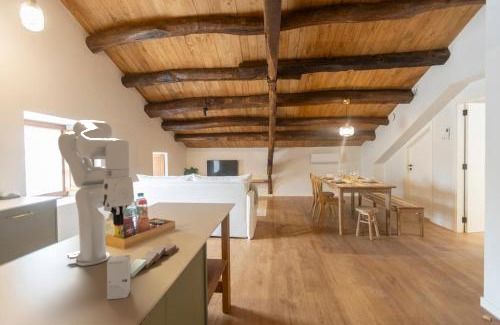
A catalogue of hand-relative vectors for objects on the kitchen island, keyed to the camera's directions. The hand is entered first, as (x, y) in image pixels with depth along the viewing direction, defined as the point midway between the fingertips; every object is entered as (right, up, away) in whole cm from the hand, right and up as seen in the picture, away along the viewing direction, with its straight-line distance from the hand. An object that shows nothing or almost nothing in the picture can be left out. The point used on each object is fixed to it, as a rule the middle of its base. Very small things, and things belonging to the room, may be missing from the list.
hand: (118, 224), depth 93 cm
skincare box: (+6, -21, -10) cm, 24 cm away
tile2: (+6, -19, +14) cm, 24 cm away
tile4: (+9, -19, +23) cm, 31 cm away
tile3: (+8, -18, +21) cm, 29 cm away
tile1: (+5, -19, +9) cm, 21 cm away
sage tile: (+2, -19, +2) cm, 19 cm away
